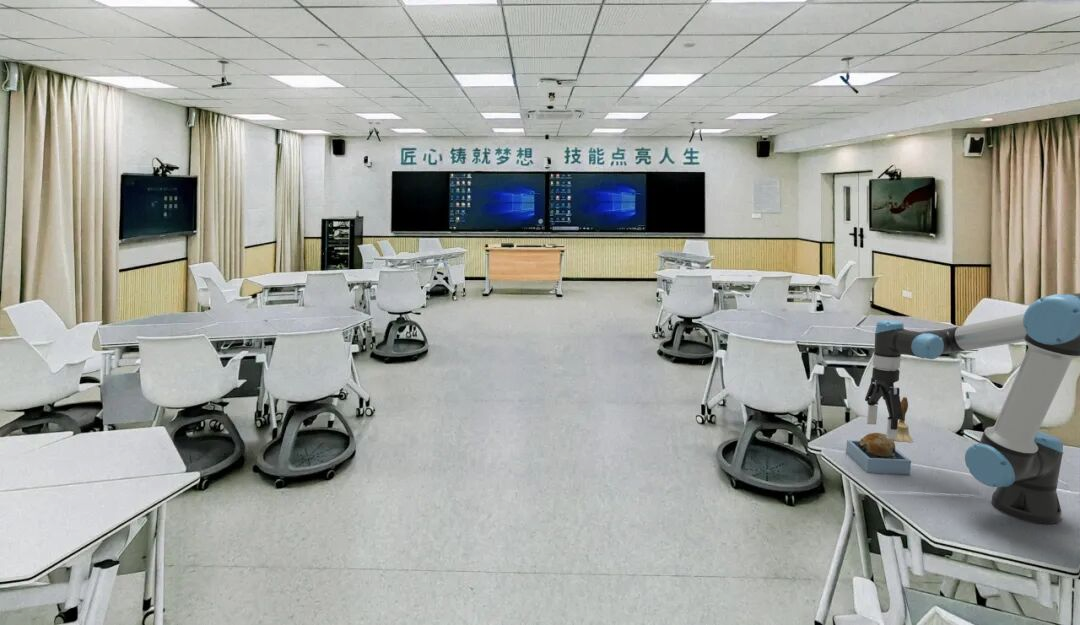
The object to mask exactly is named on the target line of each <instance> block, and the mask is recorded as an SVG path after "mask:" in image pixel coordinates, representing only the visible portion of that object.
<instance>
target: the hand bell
mask: <svg viewBox="0 0 1080 625" xmlns="http://www.w3.org/2000/svg"><path fill="white" fill-rule="evenodd" d="M900 402H901V408H902V415H903V419H899V420H898V427H897V439H892V440H893V441H894V442H898V443H911V442H910V441H912V440H914V439H913V437H911V436H910V432H909V425H908V424H906V423H905V420H906V414H907V412H908V409H909V401H908V398H907V397H904V396H903V397H902V399H901V400H900ZM912 442H913V441H912Z"/></svg>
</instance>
